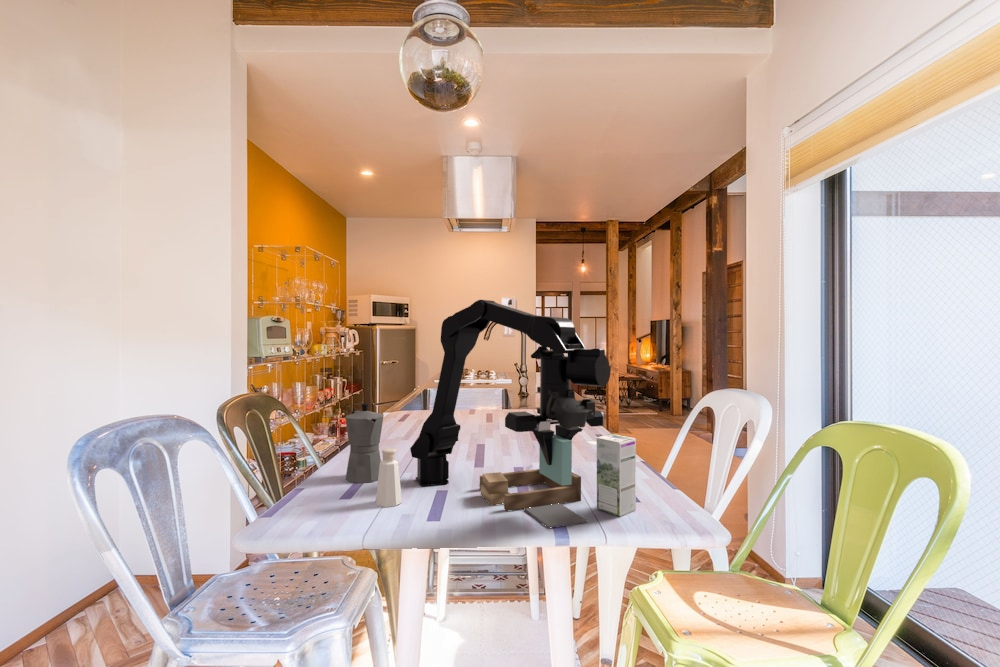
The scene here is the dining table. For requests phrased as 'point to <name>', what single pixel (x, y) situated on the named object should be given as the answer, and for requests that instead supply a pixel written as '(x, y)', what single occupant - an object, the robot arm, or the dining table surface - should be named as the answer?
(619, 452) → the syrup box
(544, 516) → the mat
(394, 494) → the pepper shaker
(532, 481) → the rack
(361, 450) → the coffeepot
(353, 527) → the dining table surface
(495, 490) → the offcut upper
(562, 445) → the teal rectangular block
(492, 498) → the offcut lower
